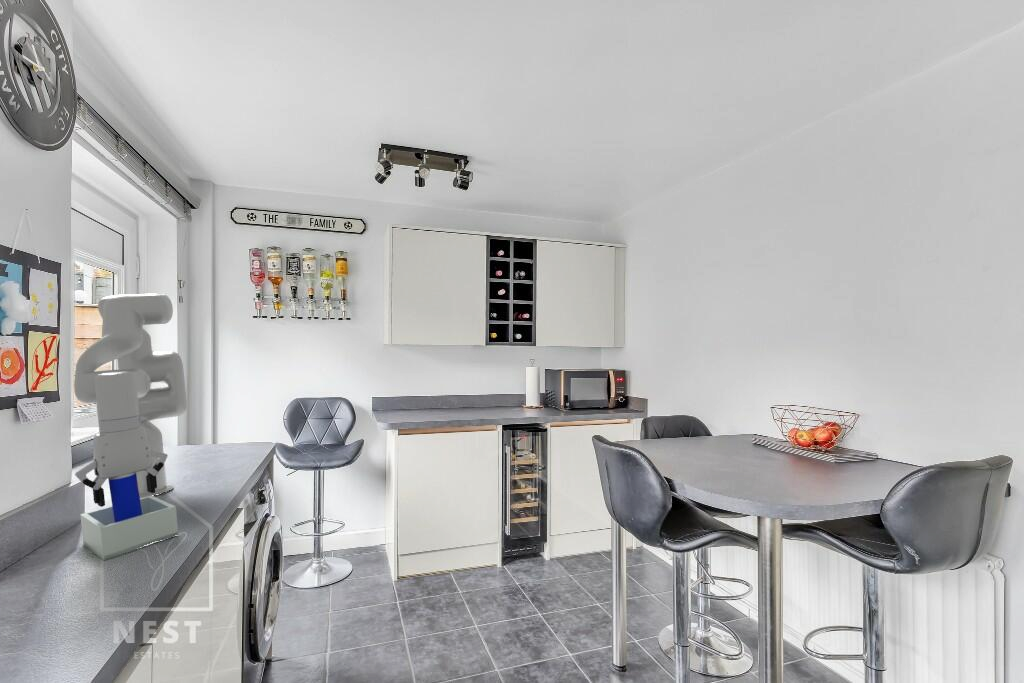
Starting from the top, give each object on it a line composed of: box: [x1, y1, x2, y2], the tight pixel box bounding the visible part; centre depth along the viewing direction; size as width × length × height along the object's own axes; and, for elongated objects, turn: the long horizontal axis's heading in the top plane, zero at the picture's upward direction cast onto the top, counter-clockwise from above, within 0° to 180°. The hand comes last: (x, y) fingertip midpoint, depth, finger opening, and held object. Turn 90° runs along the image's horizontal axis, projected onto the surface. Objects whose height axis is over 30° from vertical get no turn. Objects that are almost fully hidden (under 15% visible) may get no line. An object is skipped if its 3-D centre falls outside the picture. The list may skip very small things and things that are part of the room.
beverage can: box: [108, 472, 142, 523], centre depth 117 cm, size 5×5×15 cm
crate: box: [79, 495, 179, 561], centre depth 117 cm, size 16×14×7 cm
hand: (127, 498), depth 117 cm, fingers open, 9 cm apart
